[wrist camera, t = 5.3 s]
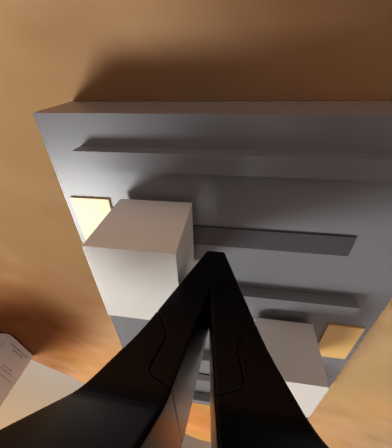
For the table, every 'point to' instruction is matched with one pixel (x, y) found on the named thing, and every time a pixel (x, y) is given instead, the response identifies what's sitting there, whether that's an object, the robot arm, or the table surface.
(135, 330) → the switch bank
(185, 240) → the tab
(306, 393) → the tab
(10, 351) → the ink box
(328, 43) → the table surface
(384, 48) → the table surface
